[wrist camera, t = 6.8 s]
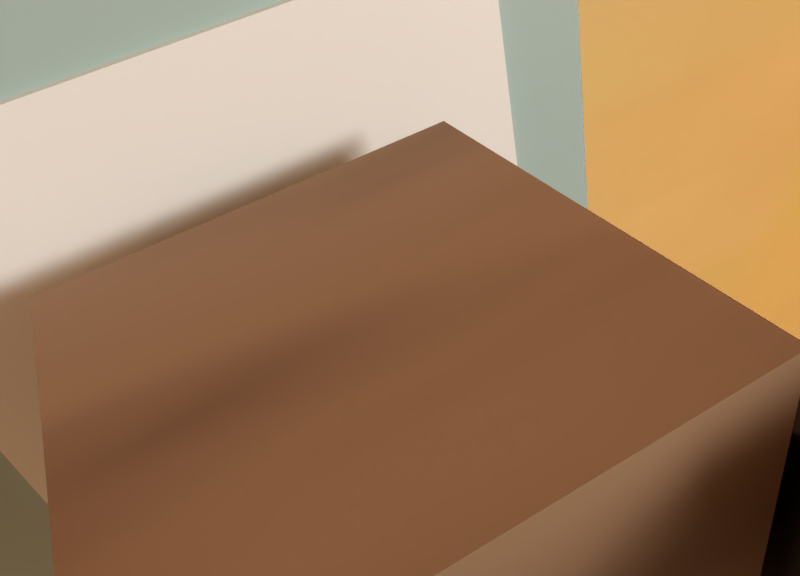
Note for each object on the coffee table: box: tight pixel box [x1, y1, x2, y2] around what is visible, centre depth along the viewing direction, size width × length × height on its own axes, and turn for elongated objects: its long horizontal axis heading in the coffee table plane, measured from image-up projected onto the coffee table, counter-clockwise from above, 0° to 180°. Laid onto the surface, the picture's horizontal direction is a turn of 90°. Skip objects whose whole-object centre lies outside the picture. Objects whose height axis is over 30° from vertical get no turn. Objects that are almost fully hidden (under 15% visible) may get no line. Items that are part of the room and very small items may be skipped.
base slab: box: [0, 0, 587, 576], centre depth 12 cm, size 12×12×3 cm
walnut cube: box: [31, 121, 800, 576], centre depth 8 cm, size 6×6×6 cm
